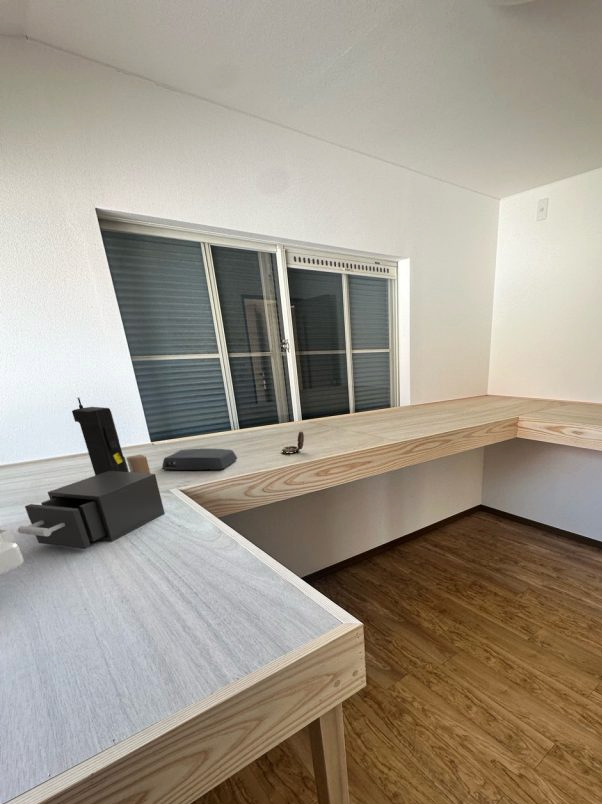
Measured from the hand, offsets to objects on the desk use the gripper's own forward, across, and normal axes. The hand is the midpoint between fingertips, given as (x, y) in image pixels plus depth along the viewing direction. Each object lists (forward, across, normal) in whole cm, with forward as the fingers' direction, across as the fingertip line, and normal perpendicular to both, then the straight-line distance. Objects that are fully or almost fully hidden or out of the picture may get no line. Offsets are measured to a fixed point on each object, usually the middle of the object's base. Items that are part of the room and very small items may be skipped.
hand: (7, 533), depth 70 cm
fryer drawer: (+12, 0, +6) cm, 14 cm away
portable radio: (+33, +12, +7) cm, 36 cm away
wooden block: (+44, +15, +7) cm, 47 cm away
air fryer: (+20, 0, +7) cm, 21 cm away
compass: (+84, -11, +8) cm, 85 cm away
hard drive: (+64, +11, +7) cm, 65 cm away
